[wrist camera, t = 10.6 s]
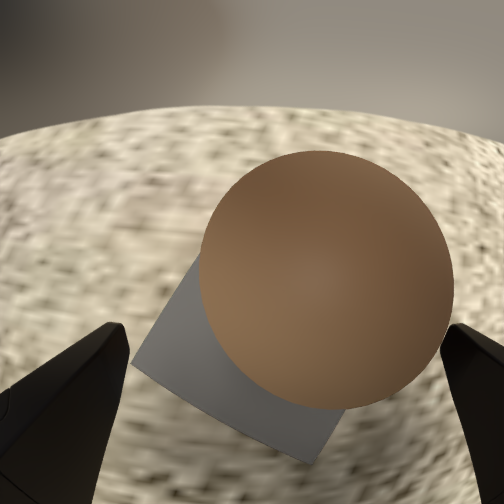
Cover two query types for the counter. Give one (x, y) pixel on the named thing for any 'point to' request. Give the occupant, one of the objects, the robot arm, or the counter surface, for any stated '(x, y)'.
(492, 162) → the counter surface
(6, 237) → the counter surface
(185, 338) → the mat
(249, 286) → the pepper mill
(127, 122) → the counter surface
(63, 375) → the robot arm
